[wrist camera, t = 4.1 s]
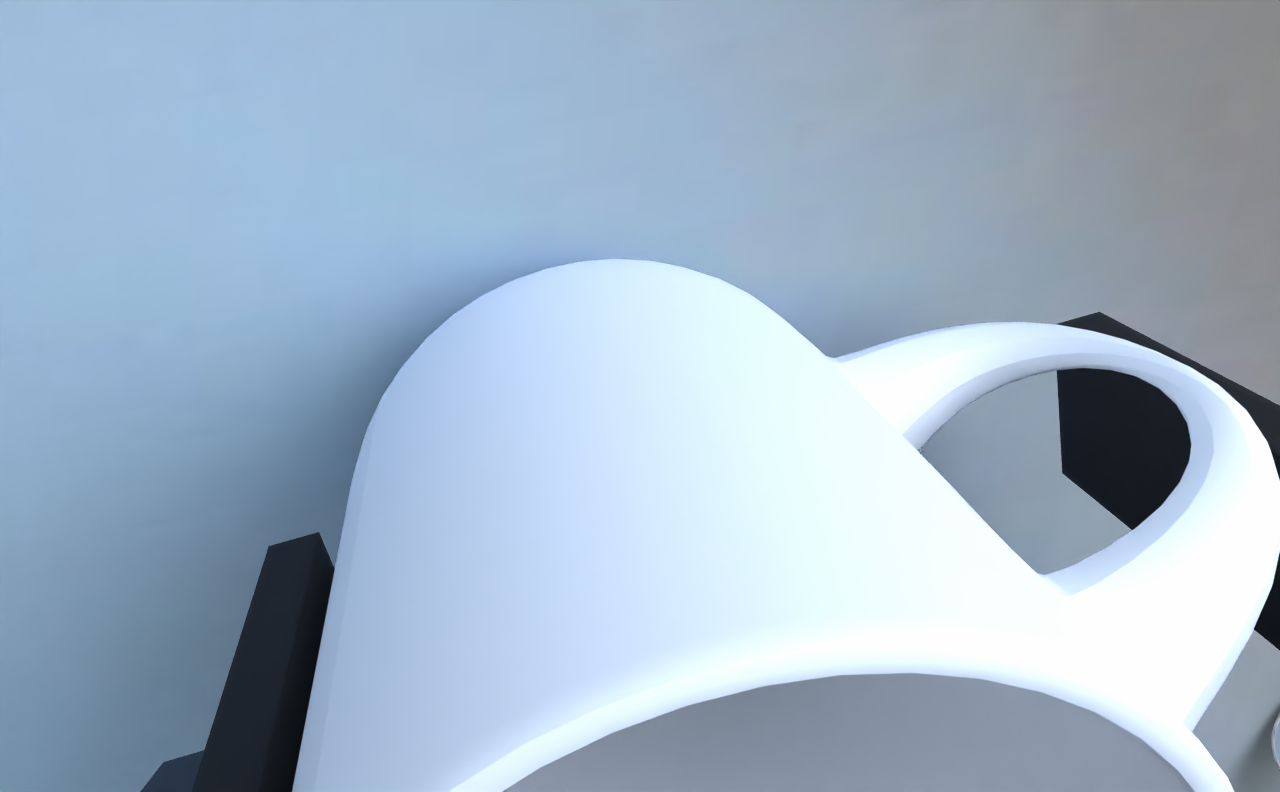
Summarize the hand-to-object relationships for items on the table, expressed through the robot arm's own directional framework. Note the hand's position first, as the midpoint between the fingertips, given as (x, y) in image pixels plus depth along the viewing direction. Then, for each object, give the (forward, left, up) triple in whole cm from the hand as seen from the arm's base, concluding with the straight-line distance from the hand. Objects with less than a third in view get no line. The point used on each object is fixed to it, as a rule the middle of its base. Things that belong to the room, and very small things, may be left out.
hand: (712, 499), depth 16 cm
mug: (0, 0, -3) cm, 3 cm away
